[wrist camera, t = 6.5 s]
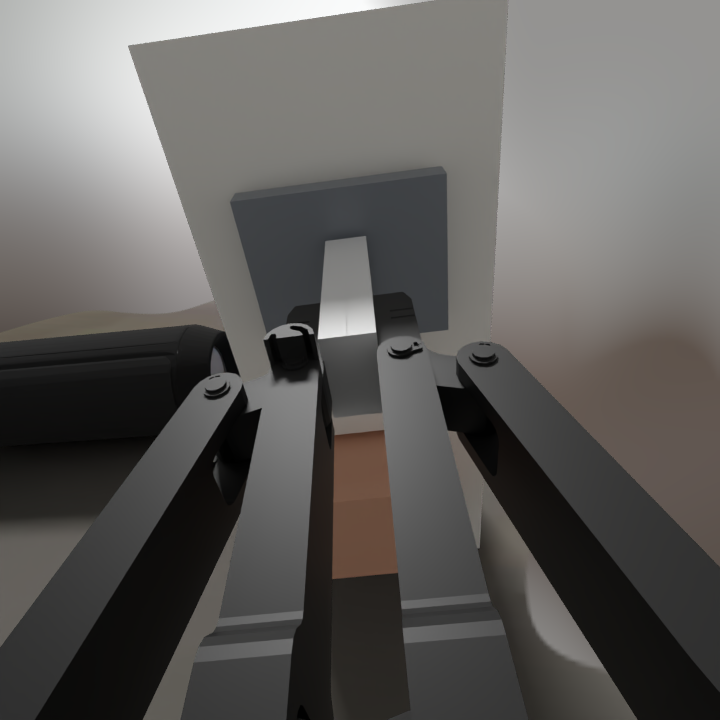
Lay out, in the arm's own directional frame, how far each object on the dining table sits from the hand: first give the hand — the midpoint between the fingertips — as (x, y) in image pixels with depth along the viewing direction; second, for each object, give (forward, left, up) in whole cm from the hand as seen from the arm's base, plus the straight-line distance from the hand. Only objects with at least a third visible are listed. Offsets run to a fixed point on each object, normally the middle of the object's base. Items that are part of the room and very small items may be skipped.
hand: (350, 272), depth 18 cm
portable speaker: (-26, +19, -22) cm, 39 cm away
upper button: (0, +4, -3) cm, 5 cm away
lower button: (0, +1, -16) cm, 16 cm away
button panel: (0, +5, -22) cm, 23 cm away
